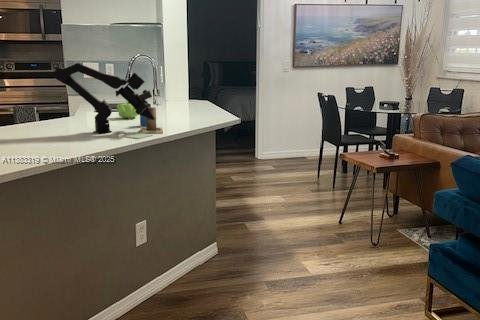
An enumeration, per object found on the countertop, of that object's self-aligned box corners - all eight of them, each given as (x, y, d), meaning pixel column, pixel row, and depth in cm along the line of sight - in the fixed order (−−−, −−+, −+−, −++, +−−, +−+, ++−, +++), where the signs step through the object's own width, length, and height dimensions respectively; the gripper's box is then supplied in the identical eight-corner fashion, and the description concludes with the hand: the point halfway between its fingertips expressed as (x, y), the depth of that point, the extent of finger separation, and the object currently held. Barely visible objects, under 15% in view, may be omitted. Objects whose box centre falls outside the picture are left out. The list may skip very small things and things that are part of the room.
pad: (122, 136, 217) (122, 135, 217) (136, 133, 225) (136, 132, 225) (138, 139, 212) (138, 138, 212) (152, 135, 221) (152, 134, 221)
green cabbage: (116, 117, 276) (115, 101, 274) (135, 116, 282) (134, 100, 279) (121, 120, 266) (120, 103, 264) (140, 119, 271) (140, 102, 269)
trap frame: (140, 133, 225) (140, 131, 225) (140, 129, 236) (140, 127, 235) (162, 133, 227) (162, 131, 227) (162, 129, 238) (162, 127, 237)
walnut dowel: (144, 131, 230) (143, 107, 228) (150, 130, 235) (150, 107, 232) (152, 132, 228) (151, 108, 225) (158, 131, 232) (157, 107, 229)
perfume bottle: (149, 124, 253) (149, 102, 251) (156, 125, 249) (155, 103, 246) (140, 125, 249) (139, 103, 246) (146, 127, 245) (146, 104, 242)
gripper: (141, 86, 216) (165, 109, 221) (142, 83, 234) (164, 104, 239) (125, 103, 216) (149, 125, 221) (127, 98, 234) (149, 119, 239)
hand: (153, 118), depth 230 cm, fingers closed on walnut dowel, 5 cm apart
